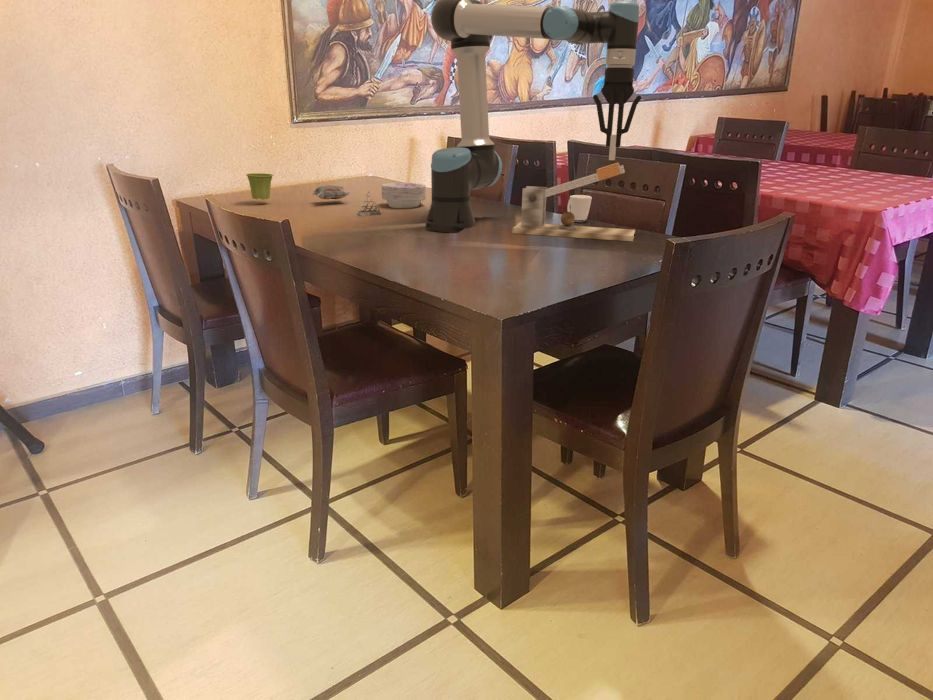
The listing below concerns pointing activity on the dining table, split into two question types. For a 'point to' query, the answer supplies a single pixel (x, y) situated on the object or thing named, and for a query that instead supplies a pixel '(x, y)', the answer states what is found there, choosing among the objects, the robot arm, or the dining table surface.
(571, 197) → the cup
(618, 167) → the lever
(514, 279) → the dining table surface
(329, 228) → the dining table surface
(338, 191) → the packaged food
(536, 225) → the press base
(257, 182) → the plant pot
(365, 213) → the house of cards
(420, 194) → the paper bowls
